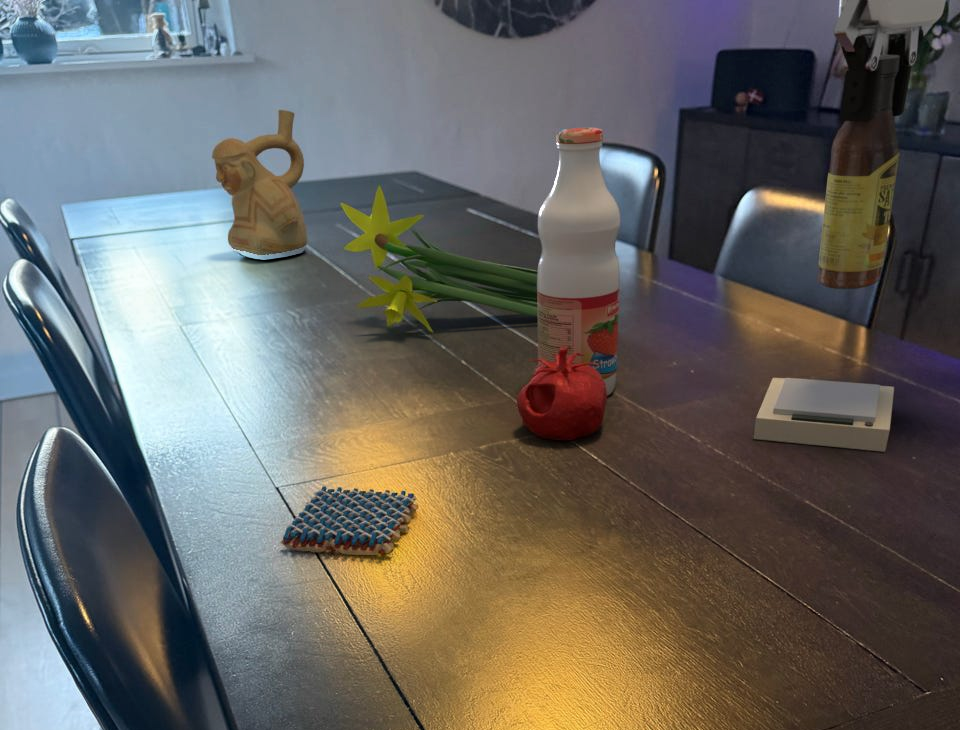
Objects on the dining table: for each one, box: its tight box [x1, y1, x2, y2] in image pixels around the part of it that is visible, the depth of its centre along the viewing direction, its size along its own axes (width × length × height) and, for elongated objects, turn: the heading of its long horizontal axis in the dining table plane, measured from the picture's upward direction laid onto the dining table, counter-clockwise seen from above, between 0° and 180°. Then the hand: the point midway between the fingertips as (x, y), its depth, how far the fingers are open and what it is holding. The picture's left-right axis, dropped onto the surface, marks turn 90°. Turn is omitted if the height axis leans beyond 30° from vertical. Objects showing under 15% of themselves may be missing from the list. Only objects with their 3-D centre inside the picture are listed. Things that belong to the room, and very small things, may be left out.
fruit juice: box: [536, 127, 621, 397], centre depth 105 cm, size 9×9×28 cm
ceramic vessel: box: [211, 109, 308, 255], centre depth 180 cm, size 17×20×25 cm
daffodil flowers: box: [339, 185, 538, 333], centre depth 135 cm, size 17×15×35 cm
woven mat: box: [280, 486, 419, 556], centre depth 85 cm, size 10×11×2 cm
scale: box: [753, 377, 895, 453], centre depth 100 cm, size 13×13×3 cm
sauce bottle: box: [817, 54, 901, 290], centre depth 90 cm, size 6×6×20 cm
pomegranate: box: [516, 346, 608, 441], centre depth 100 cm, size 10×10×9 cm
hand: (871, 115), depth 87 cm, fingers closed on sauce bottle, 4 cm apart
